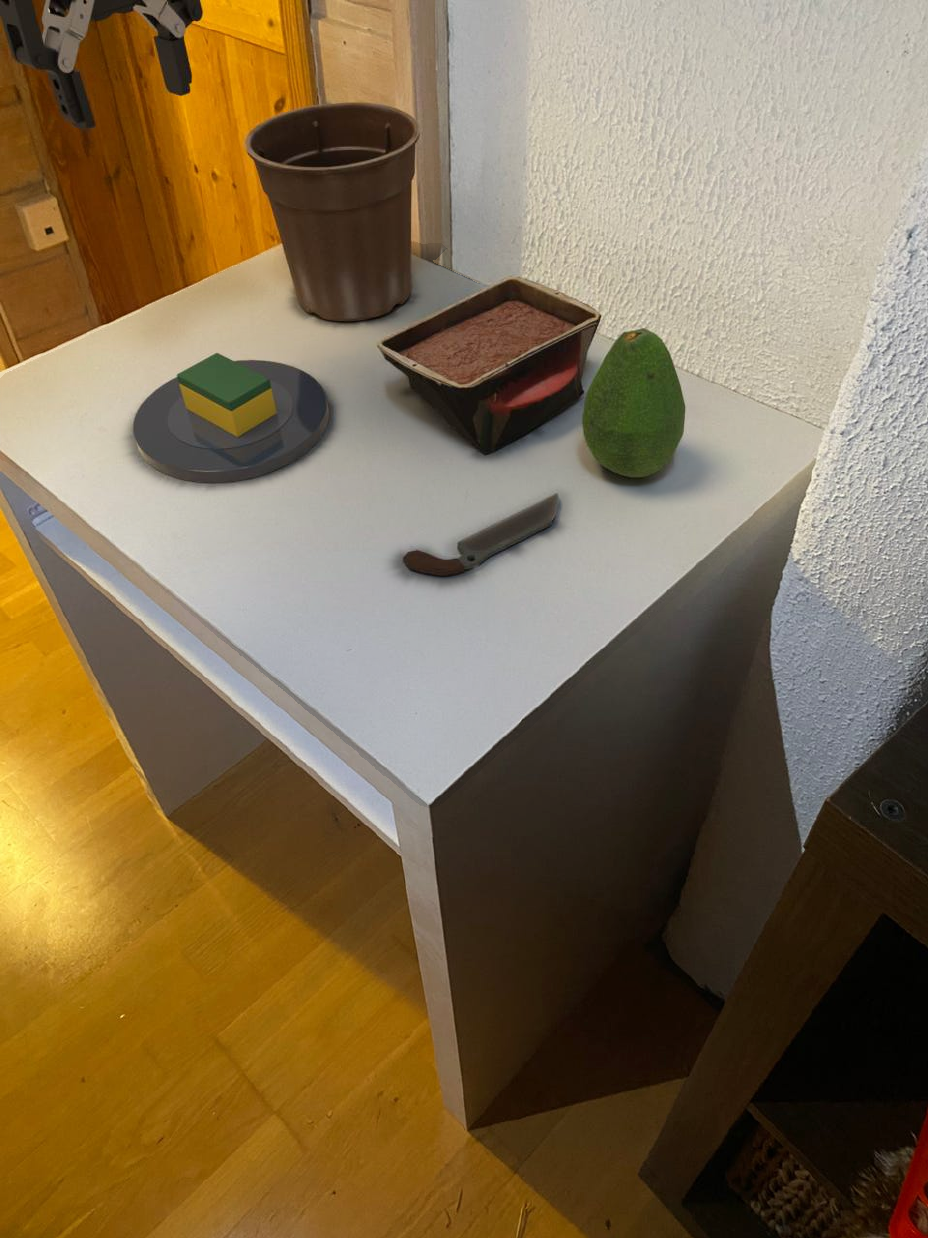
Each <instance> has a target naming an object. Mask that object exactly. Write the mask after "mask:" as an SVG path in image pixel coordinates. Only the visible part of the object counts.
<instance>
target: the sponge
mask: <svg viewBox="0 0 928 1238" xmlns="http://www.w3.org/2000/svg"><path fill="white" fill-rule="evenodd" d="M235 361H236V360H234V359H233V360H232V359H231V358H229V357H226V356H225V355H223V354H220V353H219V352H215V353H214V354H211V355H209V356H208V357H206V358H204V359H203V360H201V361H199V362H197V363H196V364H193V365H191V366H189V367H188V368H185V369H184V370H182V371H181V372H179V373H177V374H176V377H177V378H178V381H179V383H180V384H179V385H180V388H181V391H182V395H183V398H184V401H185V405H186V408H187V409H188V410H190V411H192V412H193V413H195V414H197V415H199V416H201V417H202V418H204V419H206V420H208V421H209V422H211V423H213V424H215V425H217V426H218V427H220V428H222V429H224V430H226V431H227V432H229V433H231V434H233V435H234V436H236V437H239V436H241V435H242V434H244V433H246V432H247V431H249V430H250V429H252V428H254V427H255V426H257V425H259V424H260V423H262V422H263V421H265V420H267V419H268V418H270V417H272V416H273V415H275V414H276V413H277V412H276V407H275V403H274V398H273V393H272V389H271V384H270V380H269V379H268V378H266V377H264V376H262V375H260V374H258V373H257V372H255V371H253V370H251V369H249V368H247V367H245V366H243V365H241V364H239V363H237V362H235Z"/></svg>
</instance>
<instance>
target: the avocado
mask: <svg viewBox="0 0 928 1238" xmlns="http://www.w3.org/2000/svg"><path fill="white" fill-rule="evenodd" d="M673 361H674V360H673V358H672V356H671V353H670V351H669V349H668V347H667V346H666V344H665V342H664V340H663V339H662V338H661V337H660V336H658V335H657V334H656V333H655V332H653V331H651V330H649V329H647V328H645V327H642V328H639V329H634V330H629V331H624V332H622V333H621V334H620V335H619V336H618V338H616V340H615V341H614V342H613V344H612V345H611V347H610V349H609V351H608V352H607V353H606V355H605V357H604V359H603V360H602V362H601V364H600V366H599V368H598V369H597V371H596V373H595V376H594V377H593V379H592V381H591V383H590V385H589V387H588V389H587V390H586V393H585V400H584V404H583V410H582V414H581V415H582V416H581V426H582V433H583V437H584V440H585V443H586V445H587V448H588V449H589V451H590V453H591V454H592V456H593V458H594V459H595V460H596V462H598V463H599V465H601V467H604V468H606V469H607V470H609V471H611V472H613V473H615V474H618V475H621V476H623V477H629V478H647V477H649V476H651V475H653V474H655V473H657V472H658V471H659V470H662V469H664V468H665V467H666V466H667V465H668V464H669V463H670V462H671V460H672V458H673V456H674V454H675V452H676V450H677V448H678V447H679V444H680V442H681V440H682V438H683V437H684V433H685V421H686V404H685V398H684V394H683V391H682V386H681V383H680V379H679V376H678V373H677V370H676V367H675V364H674V362H673Z"/></svg>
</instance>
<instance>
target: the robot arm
mask: <svg viewBox="0 0 928 1238" xmlns="http://www.w3.org/2000/svg"><path fill="white" fill-rule="evenodd" d="M67 11H68V13H67V15H66V12H67ZM132 12H136V13H138V14H139V15H140V16H141V17H142V19H144V21H145V22H146V23H147V24H148V25H149V26H150V27H151V28H152V30H154V31H155V32H156V33H157V35H153V41H154V45H155V49H156V54H157V57H158V61H159V66H160V70H161V74H162V78H163V81H164V82H163V83H164V86H165V88H166V91H168V93H170V94H173V95H177V96H180V97H183V96H186V95H188V94H191V85H190V84H192V83H193V73H192V68H191V64H190V60H189V59H190V58H189V55H188V51H187V46H186V41H185V34H186V31H187V30H186V29H187V28H188V27H189V26H190V25H191V24H192V23H193V22H199V21H201V20H202V18H203V15H204V11H203V6H202V1H201V0H45V2H44V7H43V11H42V15H41V23H42V25H43V31H41V28H40V24H39V21H38V17H37V13H36V9H35V5H34V2H33V0H0V20H1V23H2V27H3V30H4V34H5V37H6V40H7V44H8V47H9V51H10V54H11V58H12V59H13V60H14V61H15V62H16V63H18V64H21V65H24V66H28V67H30V68H33V69H36V70H39V71H43V70H44V71H45V72H46V73H47V76H48V78H49V82H50V84H51V89H52V90H53V94H54V97H55V99H56V103H57V106H58V109H59V112H60V114H61V116H62V117H63V118H64V120H66V121H68V122H70V123H71V124H72V126H73V127H75V128H77V129H79V130H83V131H86V132H87V131H89V130H92V129H94V128H96V121H95V118H94V115H93V111H92V108H91V105H90V102H89V98H88V94H87V91H86V88H85V85H84V81H83V78H82V74H81V71H80V70H77V69H75V65H76V60H77V56H78V52H79V48H80V45H81V42H82V41H83V40H84V39H85V38H86V36H87V33H88V30H89V27H90V22H91V21H92V22H95V23H96V22H97V23H98V22H102V21H105V20H107V19H108V18H110V17H111V16H112V15H113V14H123V15H124V14H128V13H129V14H130V13H132Z"/></svg>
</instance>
